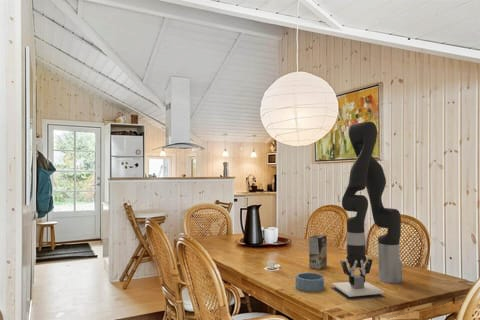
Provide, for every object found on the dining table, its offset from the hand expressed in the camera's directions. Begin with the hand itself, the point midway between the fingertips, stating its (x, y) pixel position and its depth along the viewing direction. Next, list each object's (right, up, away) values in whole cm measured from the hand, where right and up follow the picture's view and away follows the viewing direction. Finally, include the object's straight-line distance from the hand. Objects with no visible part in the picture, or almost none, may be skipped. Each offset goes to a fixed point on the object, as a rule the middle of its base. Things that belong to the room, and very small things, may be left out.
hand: (357, 284), depth 155 cm
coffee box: (-7, -5, +43) cm, 44 cm away
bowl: (-18, -4, +7) cm, 20 cm away
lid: (0, -2, 0) cm, 2 cm away
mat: (0, -4, 0) cm, 4 cm away
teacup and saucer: (-29, -6, +39) cm, 49 cm away
